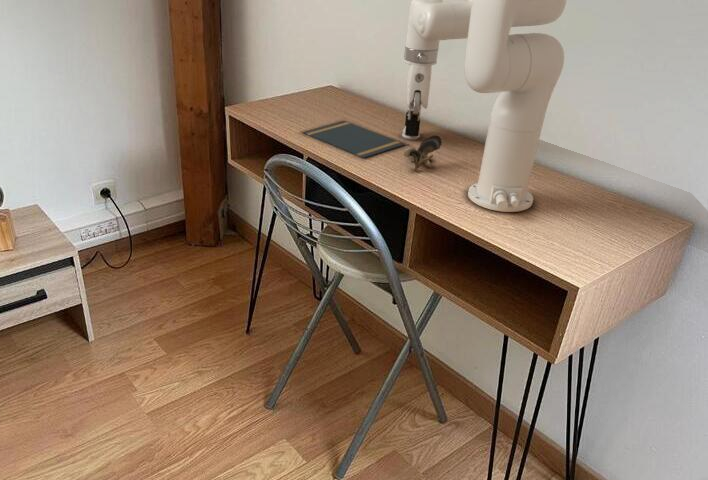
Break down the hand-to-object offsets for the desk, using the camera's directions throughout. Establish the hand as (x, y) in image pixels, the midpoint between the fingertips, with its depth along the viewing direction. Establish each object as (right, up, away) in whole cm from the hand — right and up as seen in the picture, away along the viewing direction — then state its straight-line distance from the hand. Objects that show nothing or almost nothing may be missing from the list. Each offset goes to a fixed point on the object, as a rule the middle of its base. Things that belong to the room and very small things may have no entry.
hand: (411, 131), depth 156 cm
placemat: (-14, -2, -1) cm, 15 cm away
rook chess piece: (0, -1, +1) cm, 2 cm away
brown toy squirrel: (0, -11, -14) cm, 18 cm away
